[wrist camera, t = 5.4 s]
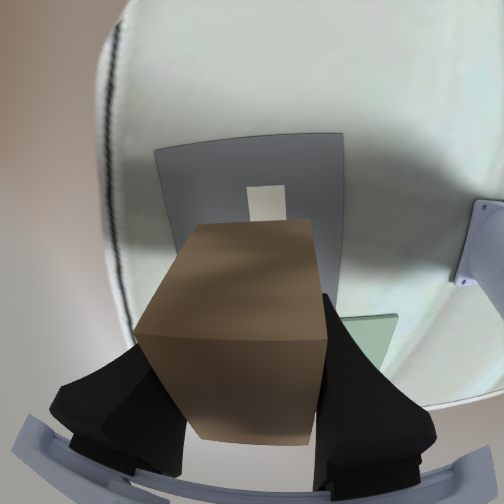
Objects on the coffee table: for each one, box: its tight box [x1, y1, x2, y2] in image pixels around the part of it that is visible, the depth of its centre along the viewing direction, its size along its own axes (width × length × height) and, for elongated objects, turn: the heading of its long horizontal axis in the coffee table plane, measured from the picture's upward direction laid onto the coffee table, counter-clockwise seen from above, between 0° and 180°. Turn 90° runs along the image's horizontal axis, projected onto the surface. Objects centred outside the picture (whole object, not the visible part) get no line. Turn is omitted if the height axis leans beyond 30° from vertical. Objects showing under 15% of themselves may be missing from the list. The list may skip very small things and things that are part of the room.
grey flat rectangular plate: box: [155, 133, 344, 310], centre depth 19 cm, size 12×14×1 cm
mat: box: [340, 314, 399, 370], centre depth 25 cm, size 12×12×1 cm
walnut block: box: [133, 219, 328, 446], centre depth 10 cm, size 4×7×6 cm, turn 6°
